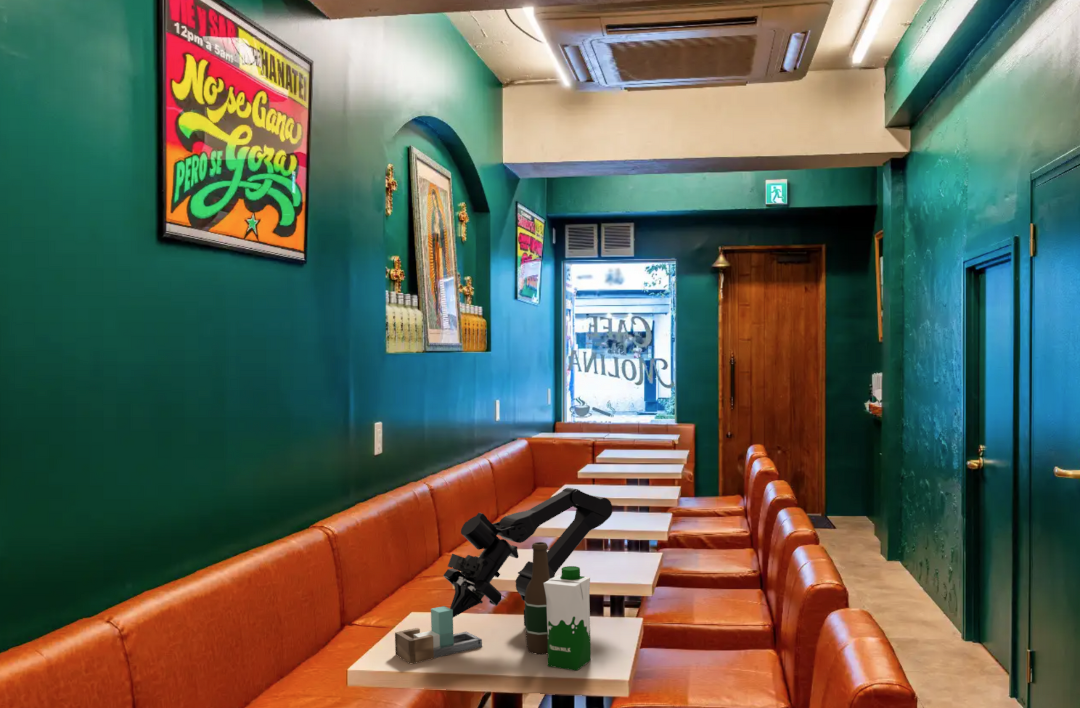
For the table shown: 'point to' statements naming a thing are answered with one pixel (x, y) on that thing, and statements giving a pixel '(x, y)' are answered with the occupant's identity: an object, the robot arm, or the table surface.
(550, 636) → the milk carton
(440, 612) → the teal block
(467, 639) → the rails
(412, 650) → the socket
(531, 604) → the beer bottle
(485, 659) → the table surface
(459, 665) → the table surface
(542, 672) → the table surface
